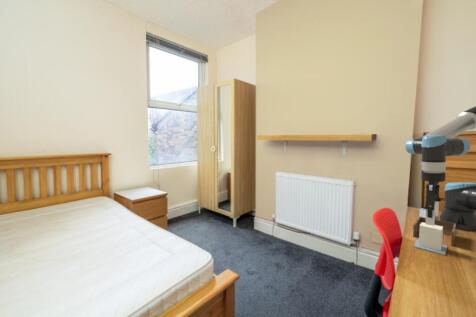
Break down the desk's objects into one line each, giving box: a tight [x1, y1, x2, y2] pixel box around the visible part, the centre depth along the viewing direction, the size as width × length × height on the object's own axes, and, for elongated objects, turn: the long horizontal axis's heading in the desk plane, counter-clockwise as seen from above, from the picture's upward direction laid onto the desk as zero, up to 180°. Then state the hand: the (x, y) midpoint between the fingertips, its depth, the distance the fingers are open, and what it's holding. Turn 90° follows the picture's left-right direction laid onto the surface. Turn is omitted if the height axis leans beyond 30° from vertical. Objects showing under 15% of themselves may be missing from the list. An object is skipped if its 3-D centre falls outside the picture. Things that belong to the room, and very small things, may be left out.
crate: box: [412, 216, 457, 247], centre depth 102 cm, size 15×14×6 cm
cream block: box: [418, 222, 444, 251], centre depth 92 cm, size 5×7×9 cm
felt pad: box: [412, 238, 448, 256], centre depth 92 cm, size 10×10×1 cm
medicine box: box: [418, 207, 439, 220], centre depth 113 cm, size 8×4×9 cm, turn 168°
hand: (432, 219), depth 92 cm, fingers open, 13 cm apart
